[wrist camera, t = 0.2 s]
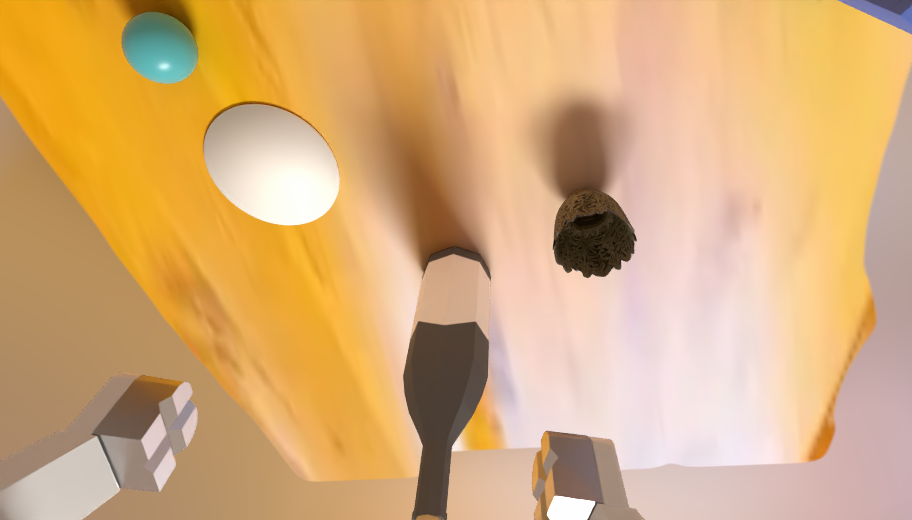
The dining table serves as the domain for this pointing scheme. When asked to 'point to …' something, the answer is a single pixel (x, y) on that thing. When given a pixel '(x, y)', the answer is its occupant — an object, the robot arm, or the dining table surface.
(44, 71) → the dining table surface
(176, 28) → the teal ball
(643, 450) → the dining table surface
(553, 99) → the dining table surface
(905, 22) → the walkman
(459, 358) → the wine bottle
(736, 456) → the dining table surface
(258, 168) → the cream mark
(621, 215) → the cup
